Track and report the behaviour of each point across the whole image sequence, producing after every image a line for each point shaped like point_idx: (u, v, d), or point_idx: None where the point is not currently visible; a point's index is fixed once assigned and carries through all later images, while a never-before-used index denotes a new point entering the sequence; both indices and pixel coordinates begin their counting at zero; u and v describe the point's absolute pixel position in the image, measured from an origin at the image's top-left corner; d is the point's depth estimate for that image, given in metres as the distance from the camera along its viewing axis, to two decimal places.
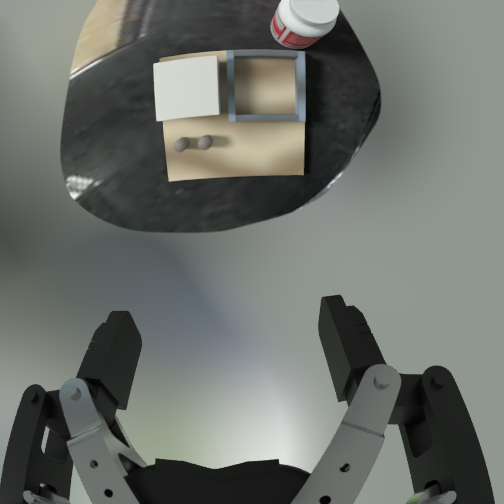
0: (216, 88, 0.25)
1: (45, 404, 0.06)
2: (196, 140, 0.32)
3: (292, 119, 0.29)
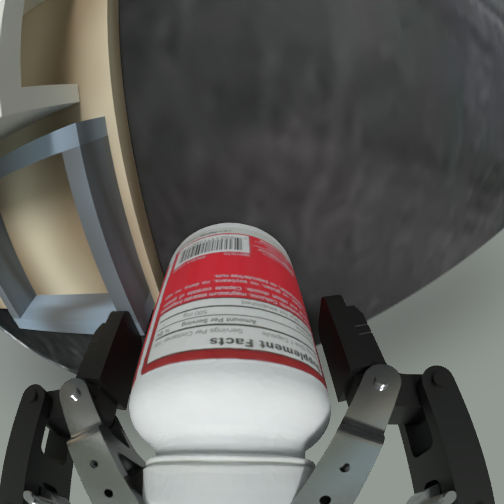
0: None
1: (45, 404, 0.06)
2: None
3: (8, 307, 0.10)
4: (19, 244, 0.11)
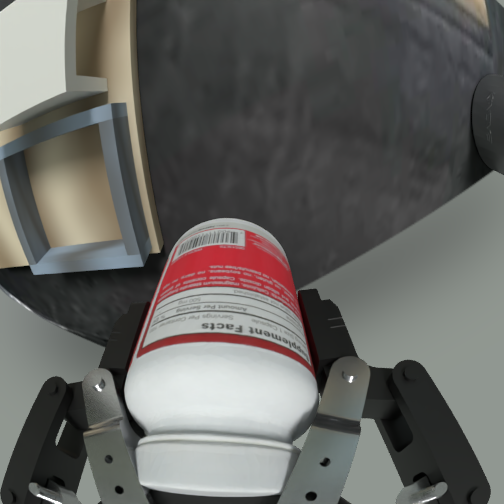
0: (6, 117, 0.07)
1: (66, 396, 0.06)
2: None
3: (27, 255, 0.14)
4: (42, 202, 0.14)
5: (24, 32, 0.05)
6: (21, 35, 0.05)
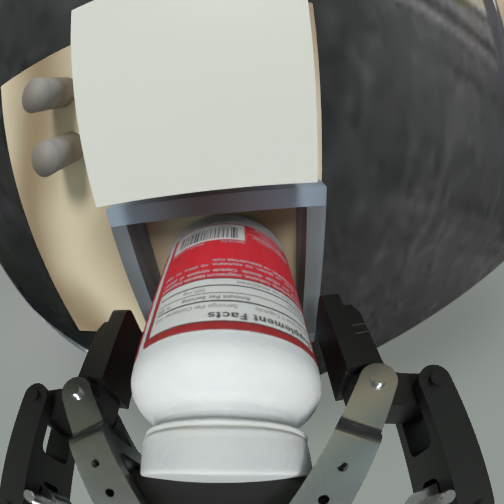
0: (182, 188, 0.08)
1: (47, 403, 0.06)
2: (70, 122, 0.10)
3: None
4: None
5: (218, 44, 0.06)
6: (212, 48, 0.06)
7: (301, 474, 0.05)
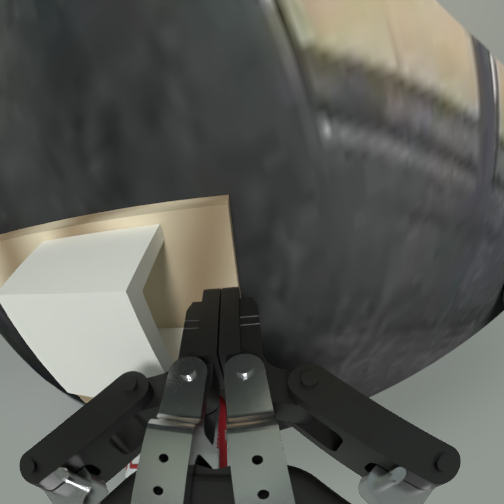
0: None
1: (148, 392, 0.07)
2: None
3: None
4: None
5: (95, 350, 0.09)
6: (92, 351, 0.09)
7: None
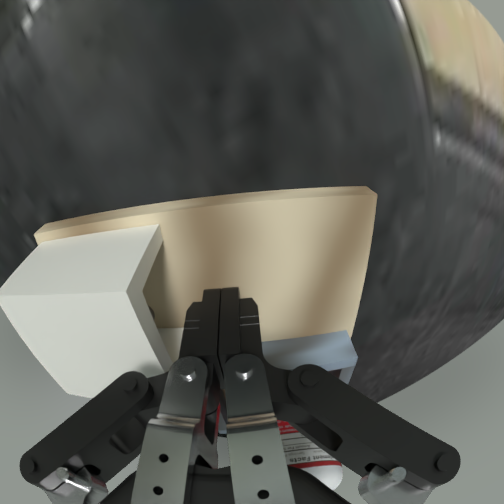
0: None
1: (148, 392, 0.07)
2: None
3: (218, 426, 0.17)
4: None
5: (95, 350, 0.09)
6: (92, 352, 0.09)
7: None
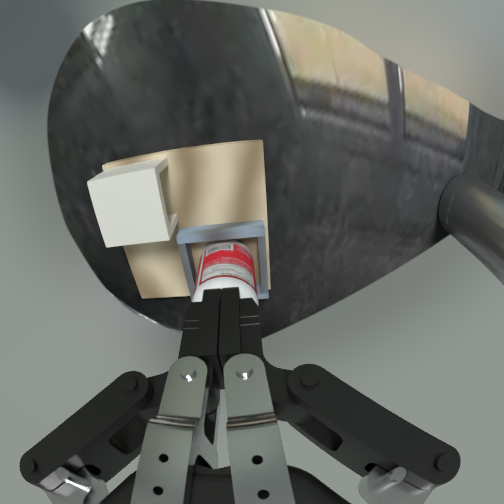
0: (131, 243, 0.25)
1: (148, 392, 0.07)
2: None
3: (191, 294, 0.31)
4: None
5: (134, 202, 0.23)
6: (132, 203, 0.23)
7: None
